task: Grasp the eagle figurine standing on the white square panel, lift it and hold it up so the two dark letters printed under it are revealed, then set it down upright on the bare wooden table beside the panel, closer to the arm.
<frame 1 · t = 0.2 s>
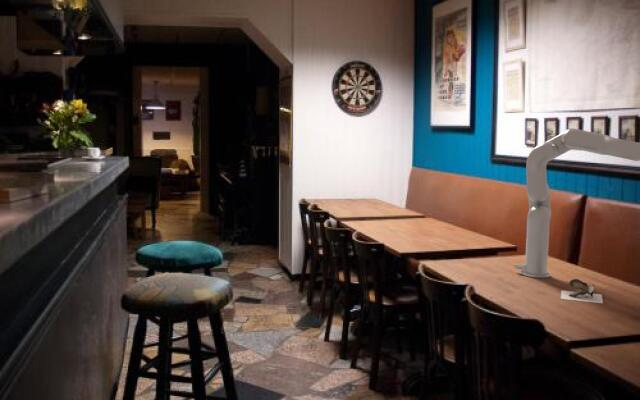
white square panel: (581, 296, 249), on the table
eagle figurine: (581, 297, 249), resting on white square panel
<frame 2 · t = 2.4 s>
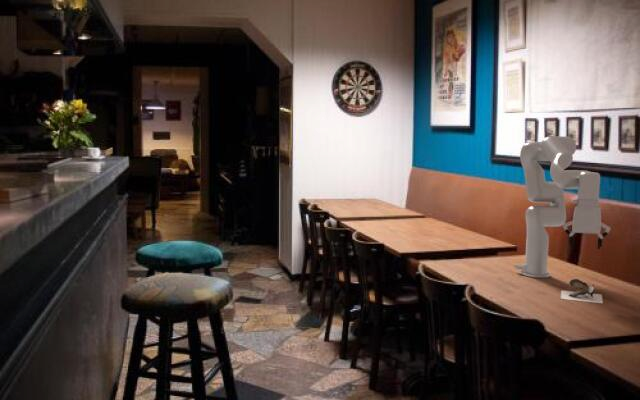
hand: (585, 247, 247), 20 cm above the table, fingers open, 9 cm apart
nothing on the table moved.
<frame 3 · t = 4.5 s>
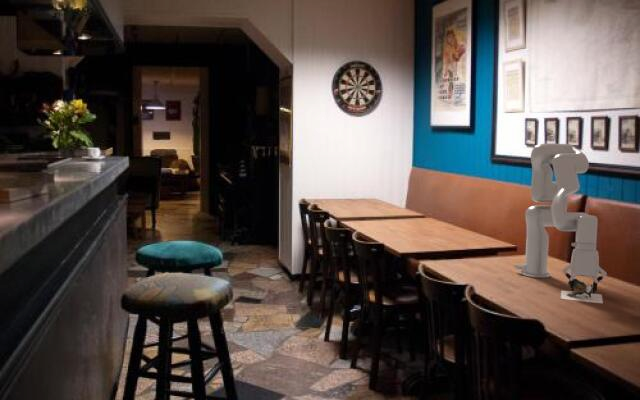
hand: (583, 291, 248), 2 cm above the table, fingers closed on eagle figurine, 7 cm apart
eagle figurine: (579, 296, 250), resting on white square panel, touching gripper
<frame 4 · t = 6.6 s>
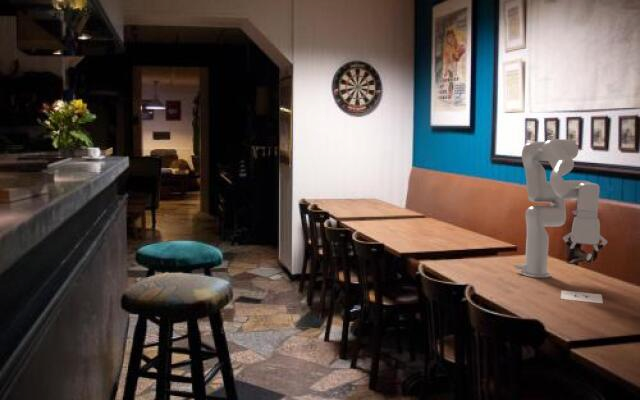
hand: (583, 259, 248), 15 cm above the table, fingers closed on eagle figurine, 7 cm apart
eagle figurine: (579, 264, 249), point 12 cm above the table, touching gripper
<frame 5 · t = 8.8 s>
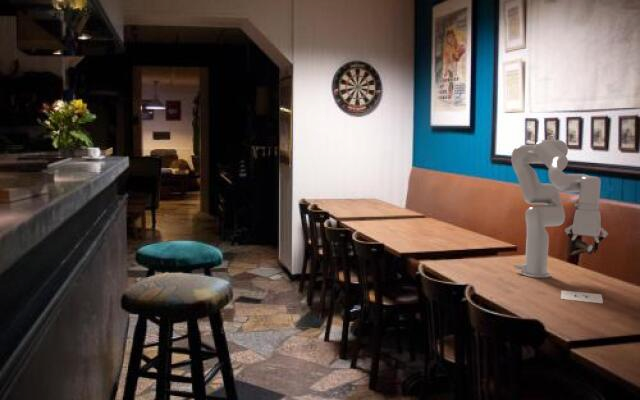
hand: (584, 250, 255), 17 cm above the table, fingers closed on eagle figurine, 7 cm apart
eagle figurine: (580, 256, 256), point 15 cm above the table, touching gripper
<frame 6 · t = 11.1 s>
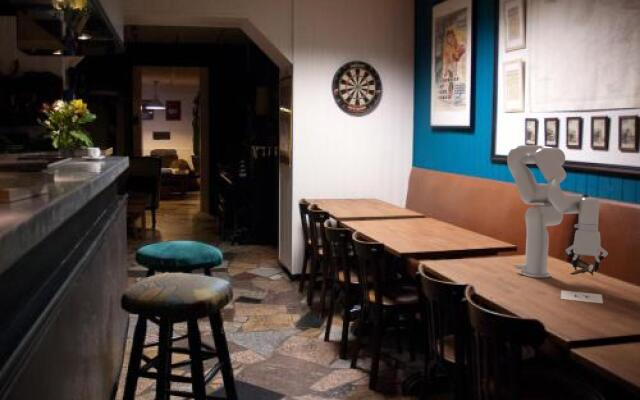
hand: (585, 269, 262), 8 cm above the table, fingers closed on eagle figurine, 7 cm apart
eagle figurine: (582, 275, 263), point 5 cm above the table, touching gripper
when the fingers open (3 cm above the table, at t = 13.0 s): eagle figurine stays where it is, on the table.
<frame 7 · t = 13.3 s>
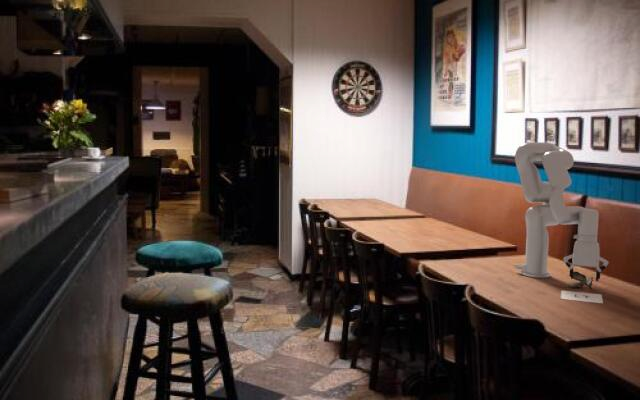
hand: (584, 279, 262), 4 cm above the table, fingers open, 9 cm apart
eagle figurine: (580, 288, 264), on the table
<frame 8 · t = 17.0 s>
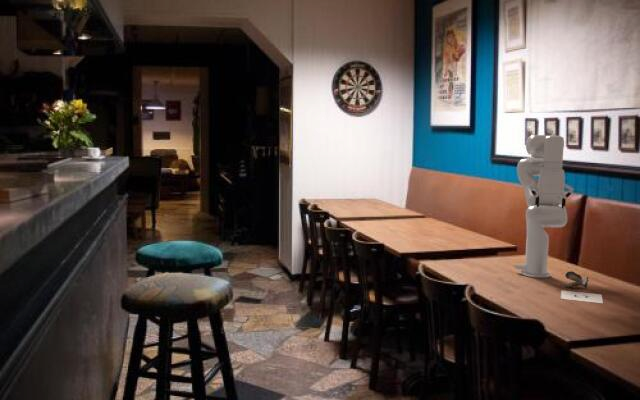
hand: (550, 207, 262), 33 cm above the table, fingers open, 9 cm apart
eagle figurine: (575, 288, 264), on the table
at the end: eagle figurine inside the target area (3.2 cm from its centre), on the table; eagle figurine tilted 0°; eagle figurine touching table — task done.
